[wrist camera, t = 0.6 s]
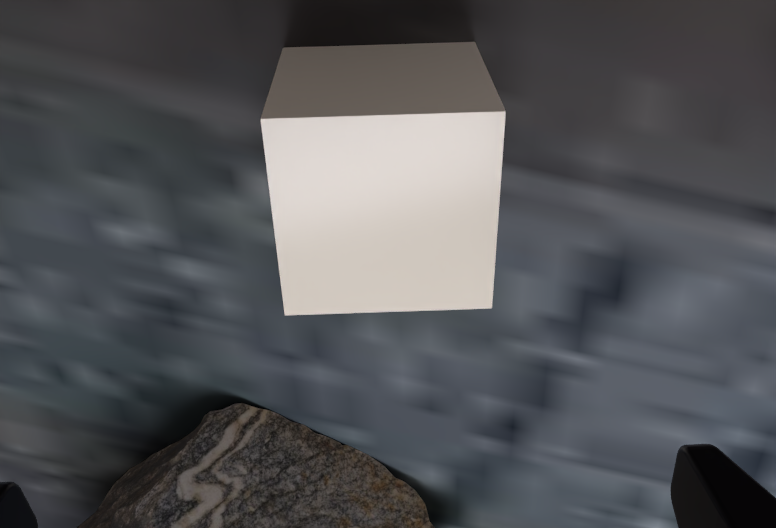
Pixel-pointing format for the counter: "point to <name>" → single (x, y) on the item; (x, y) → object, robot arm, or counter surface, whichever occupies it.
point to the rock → (258, 481)
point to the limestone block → (384, 177)
